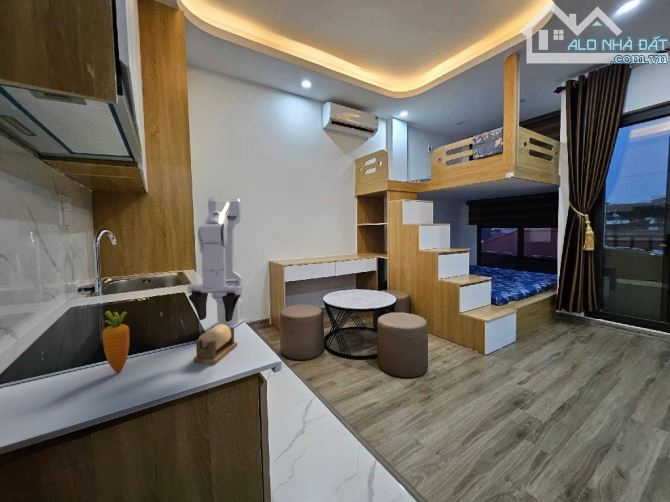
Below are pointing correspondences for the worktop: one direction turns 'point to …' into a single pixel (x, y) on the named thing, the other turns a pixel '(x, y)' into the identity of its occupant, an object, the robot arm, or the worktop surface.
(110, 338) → the carrot
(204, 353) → the roll holder
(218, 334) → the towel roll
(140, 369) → the worktop surface
